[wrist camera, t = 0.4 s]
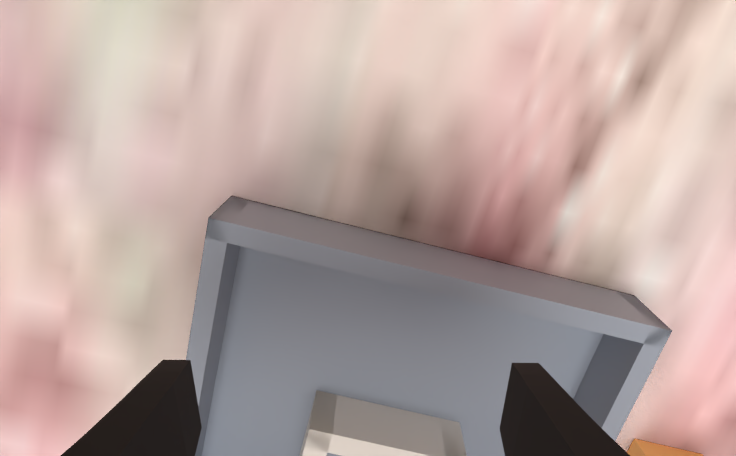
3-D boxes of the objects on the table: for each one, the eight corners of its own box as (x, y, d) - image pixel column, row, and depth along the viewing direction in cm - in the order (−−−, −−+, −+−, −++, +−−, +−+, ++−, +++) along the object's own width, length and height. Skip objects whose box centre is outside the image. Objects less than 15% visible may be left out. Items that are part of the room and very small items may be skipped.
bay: (518, 540, 27) (534, 597, 24) (184, 469, 26) (160, 520, 23) (634, 295, 22) (672, 330, 19) (231, 195, 21) (208, 217, 18)
